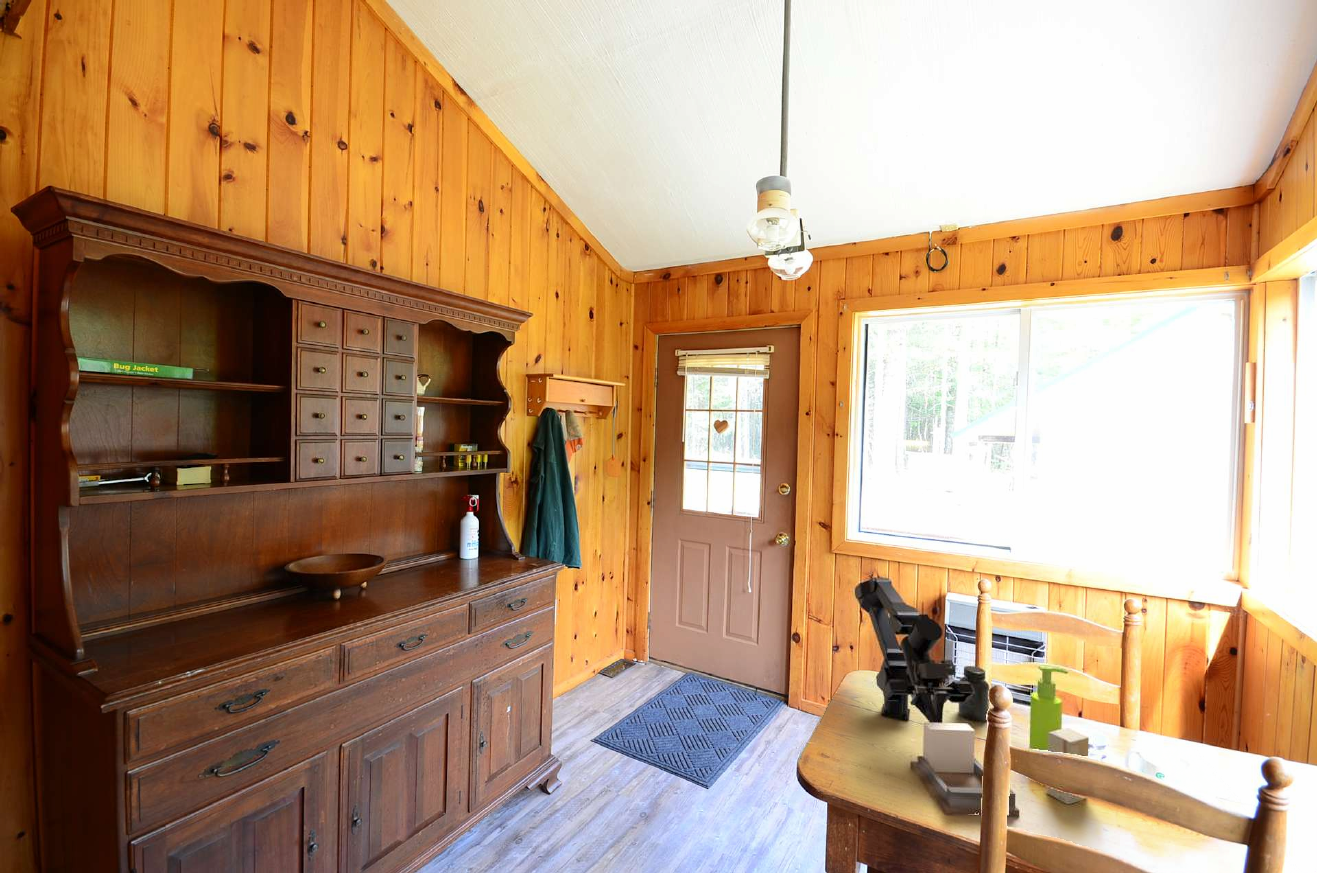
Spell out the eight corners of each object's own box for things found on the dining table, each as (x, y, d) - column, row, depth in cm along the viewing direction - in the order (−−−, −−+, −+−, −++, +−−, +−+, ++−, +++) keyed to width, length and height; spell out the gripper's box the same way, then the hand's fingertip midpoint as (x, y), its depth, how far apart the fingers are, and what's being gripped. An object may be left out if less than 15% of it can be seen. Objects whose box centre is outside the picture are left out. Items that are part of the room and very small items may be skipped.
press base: (910, 767, 127) (910, 747, 127) (974, 768, 126) (974, 749, 126) (946, 814, 111) (946, 792, 111) (1019, 816, 110) (1019, 794, 110)
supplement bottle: (973, 709, 155) (974, 663, 155) (995, 721, 149) (996, 673, 149) (952, 711, 153) (953, 665, 153) (973, 724, 147) (974, 676, 147)
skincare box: (1067, 806, 114) (1069, 742, 114) (1045, 793, 118) (1046, 732, 118) (1088, 798, 117) (1090, 736, 117) (1066, 786, 121) (1067, 726, 121)
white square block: (920, 761, 127) (921, 720, 127) (963, 762, 126) (964, 721, 126) (929, 771, 123) (930, 729, 123) (973, 773, 122) (974, 730, 122)
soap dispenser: (1071, 765, 129) (1073, 673, 129) (1035, 761, 130) (1038, 670, 130) (1058, 751, 135) (1060, 663, 135) (1025, 747, 136) (1027, 660, 136)
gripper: (888, 644, 133) (908, 715, 122) (971, 646, 133) (998, 718, 122) (875, 665, 141) (892, 735, 130) (953, 667, 141) (977, 737, 130)
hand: (939, 731), depth 128 cm, fingers closed
